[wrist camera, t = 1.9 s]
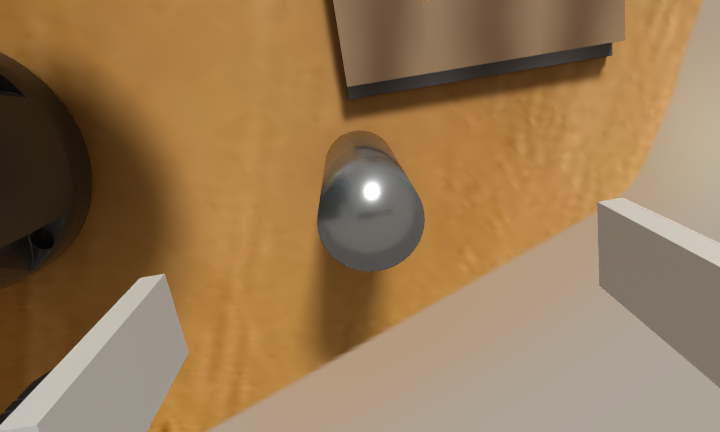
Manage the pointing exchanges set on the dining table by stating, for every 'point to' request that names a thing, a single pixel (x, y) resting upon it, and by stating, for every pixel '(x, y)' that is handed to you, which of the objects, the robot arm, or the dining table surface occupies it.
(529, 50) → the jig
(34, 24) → the dining table surface
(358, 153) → the steel cylinder rod
